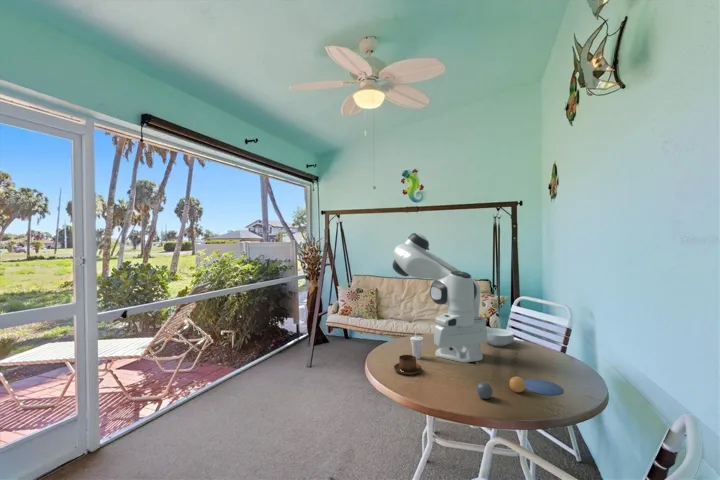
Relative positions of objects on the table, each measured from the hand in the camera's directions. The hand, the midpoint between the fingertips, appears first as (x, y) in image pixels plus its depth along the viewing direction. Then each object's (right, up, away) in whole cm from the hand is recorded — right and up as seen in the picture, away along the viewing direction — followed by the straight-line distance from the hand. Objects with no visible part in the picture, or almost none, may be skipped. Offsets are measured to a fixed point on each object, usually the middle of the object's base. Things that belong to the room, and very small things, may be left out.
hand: (461, 357), depth 119 cm
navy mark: (+35, -16, +12) cm, 40 cm away
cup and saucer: (-15, -17, +29) cm, 37 cm away
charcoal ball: (+9, -13, +3) cm, 16 cm away
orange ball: (+23, -13, +8) cm, 28 cm away
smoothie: (-8, -16, +46) cm, 49 cm away
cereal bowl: (+40, -16, +67) cm, 80 cm away
